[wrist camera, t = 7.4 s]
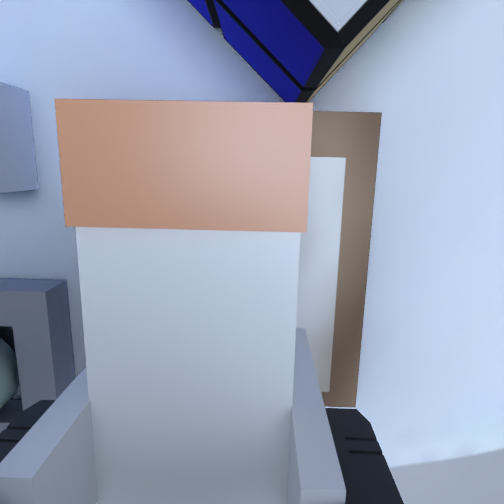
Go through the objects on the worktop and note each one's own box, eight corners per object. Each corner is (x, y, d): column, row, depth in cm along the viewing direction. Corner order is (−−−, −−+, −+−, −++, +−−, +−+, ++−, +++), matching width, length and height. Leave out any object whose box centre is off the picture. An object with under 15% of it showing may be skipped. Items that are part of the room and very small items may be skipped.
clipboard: (102, 391, 21) (88, 411, 20) (81, 109, 18) (62, 103, 16) (351, 398, 21) (360, 419, 19) (376, 114, 18) (388, 109, 16)
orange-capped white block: (278, 498, 14) (285, 656, 10) (153, 492, 15) (100, 645, 10) (293, 130, 12) (313, 102, 7) (138, 127, 12) (54, 98, 7)
